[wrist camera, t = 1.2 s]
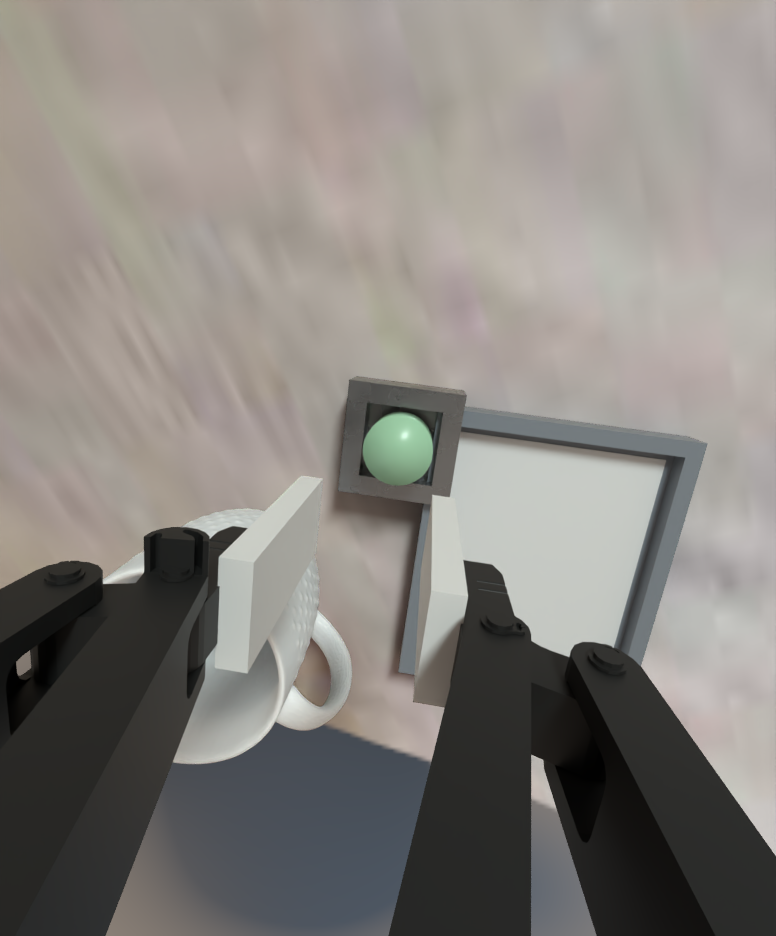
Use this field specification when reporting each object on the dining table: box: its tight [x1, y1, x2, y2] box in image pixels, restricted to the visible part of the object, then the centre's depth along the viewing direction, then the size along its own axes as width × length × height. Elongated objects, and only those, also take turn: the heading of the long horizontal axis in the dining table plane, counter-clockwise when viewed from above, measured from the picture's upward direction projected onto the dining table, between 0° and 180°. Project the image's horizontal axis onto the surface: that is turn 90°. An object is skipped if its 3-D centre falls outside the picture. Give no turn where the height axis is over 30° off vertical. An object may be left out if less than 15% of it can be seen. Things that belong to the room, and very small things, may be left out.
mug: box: [103, 508, 352, 764], centre depth 30 cm, size 15×11×13 cm
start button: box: [363, 412, 433, 486], centre depth 29 cm, size 4×4×2 cm
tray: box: [398, 407, 707, 675], centre depth 33 cm, size 16×19×2 cm
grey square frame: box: [338, 376, 467, 505], centre depth 31 cm, size 7×7×3 cm
